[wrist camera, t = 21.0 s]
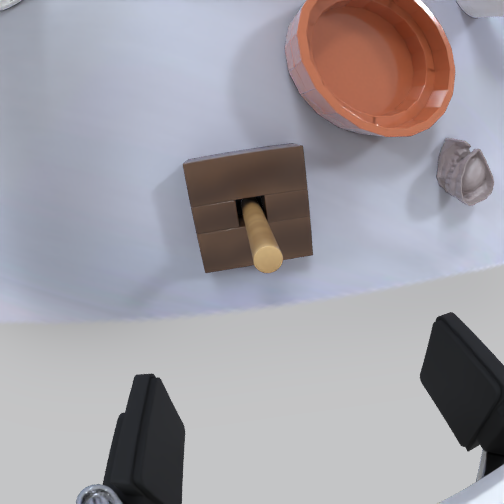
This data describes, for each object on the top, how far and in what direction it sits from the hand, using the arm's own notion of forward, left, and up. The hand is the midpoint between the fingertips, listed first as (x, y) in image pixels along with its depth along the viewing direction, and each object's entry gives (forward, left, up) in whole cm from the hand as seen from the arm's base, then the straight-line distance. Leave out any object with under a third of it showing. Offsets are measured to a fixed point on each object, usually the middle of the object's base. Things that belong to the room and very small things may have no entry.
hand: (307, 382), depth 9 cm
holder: (0, 0, -24) cm, 24 cm away
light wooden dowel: (0, 0, -24) cm, 24 cm away
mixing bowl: (-14, +14, -24) cm, 31 cm away
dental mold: (-1, +26, -24) cm, 36 cm away
